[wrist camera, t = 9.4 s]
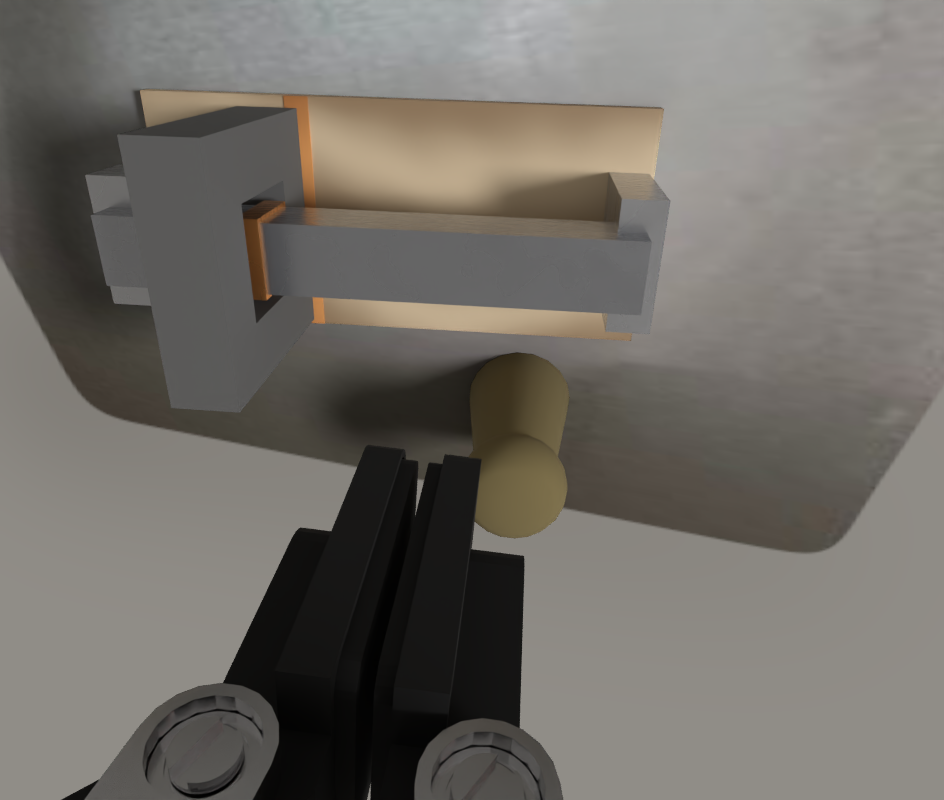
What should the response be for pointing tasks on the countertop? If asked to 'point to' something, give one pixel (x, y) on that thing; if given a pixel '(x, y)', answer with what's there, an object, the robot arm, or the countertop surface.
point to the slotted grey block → (213, 247)
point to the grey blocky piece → (428, 254)
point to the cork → (518, 443)
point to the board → (451, 176)
